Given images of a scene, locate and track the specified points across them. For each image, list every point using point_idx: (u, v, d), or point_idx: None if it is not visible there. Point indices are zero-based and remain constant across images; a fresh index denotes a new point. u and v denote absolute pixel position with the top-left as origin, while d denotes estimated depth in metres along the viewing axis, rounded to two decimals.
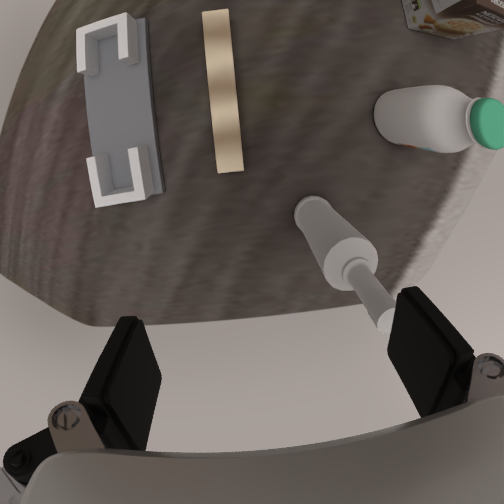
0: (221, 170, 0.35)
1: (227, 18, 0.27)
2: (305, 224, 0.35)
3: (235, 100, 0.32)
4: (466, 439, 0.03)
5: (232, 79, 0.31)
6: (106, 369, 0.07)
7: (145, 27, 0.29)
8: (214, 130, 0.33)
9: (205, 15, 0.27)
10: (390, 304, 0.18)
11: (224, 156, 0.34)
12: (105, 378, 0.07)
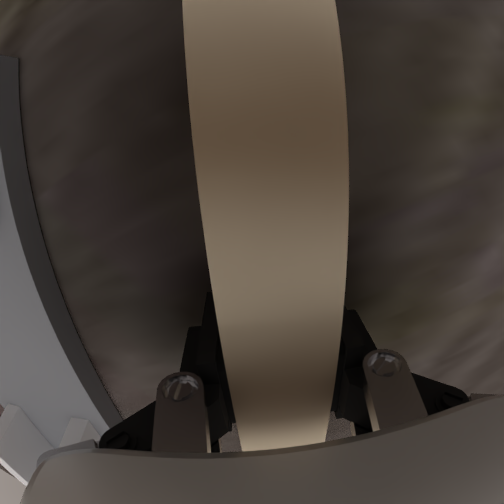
0: None
1: (332, 45, 0.05)
2: None
3: (323, 421, 0.09)
4: (466, 439, 0.03)
5: (326, 372, 0.08)
6: (213, 337, 0.09)
7: None
8: None
9: (201, 15, 0.05)
10: None
11: None
12: (216, 345, 0.08)
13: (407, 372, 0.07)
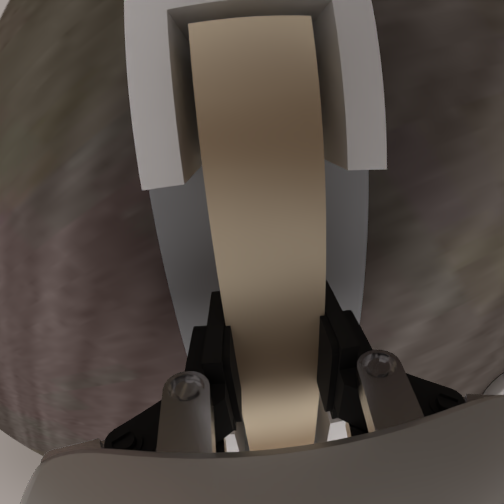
0: None
1: (309, 63, 0.06)
2: None
3: (315, 387, 0.11)
4: (466, 439, 0.03)
5: (315, 338, 0.10)
6: (218, 337, 0.09)
7: None
8: (251, 439, 0.12)
9: (204, 40, 0.06)
10: None
11: None
12: (222, 345, 0.08)
13: (402, 373, 0.07)
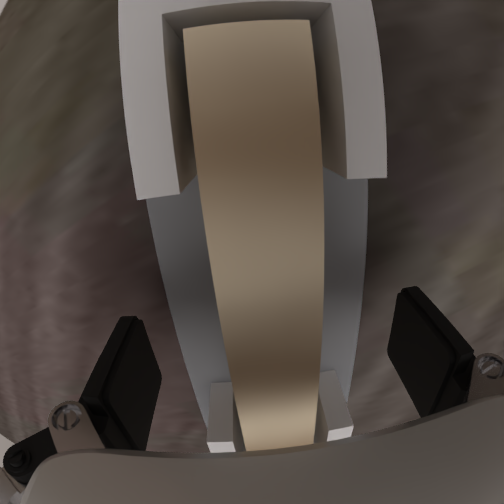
0: None
1: (307, 69, 0.06)
2: None
3: (313, 396, 0.10)
4: (466, 439, 0.03)
5: (313, 348, 0.09)
6: (106, 369, 0.07)
7: None
8: (249, 446, 0.12)
9: (199, 46, 0.06)
10: None
11: None
12: (105, 378, 0.07)
13: None
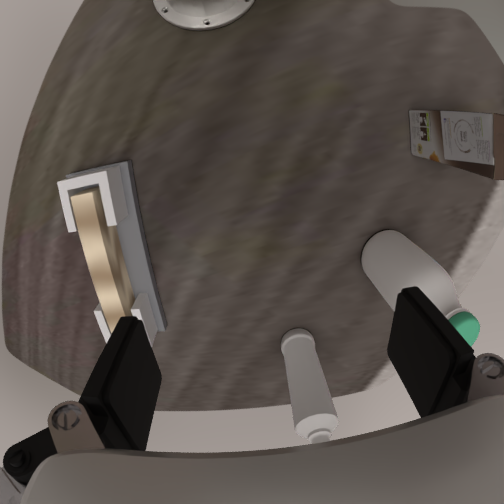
0: None
1: (93, 204, 0.31)
2: (288, 370, 0.39)
3: (114, 288, 0.35)
4: (466, 439, 0.03)
5: (108, 269, 0.34)
6: (106, 369, 0.07)
7: (129, 173, 0.34)
8: (104, 311, 0.36)
9: (74, 201, 0.30)
10: None
11: None
12: (105, 378, 0.07)
13: None
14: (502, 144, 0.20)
